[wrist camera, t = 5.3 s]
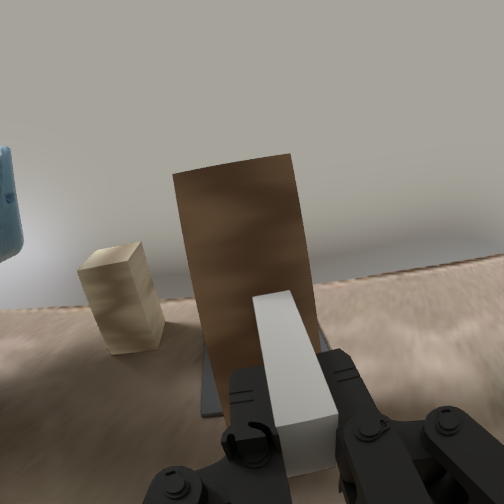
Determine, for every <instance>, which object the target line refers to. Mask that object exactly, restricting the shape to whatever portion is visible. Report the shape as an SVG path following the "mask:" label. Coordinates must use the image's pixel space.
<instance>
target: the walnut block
mask: <svg viewBox="0 0 504 504" xmlns="http://www.w3.org/2000/svg"><path fill="white" fill-rule="evenodd" d="M173 181H174V187H175V193H176V199H177V205H178V210H179V216H180V222H181V228H182V233H183V238H184V244H185V249H186V255H187V260H188V265H189V270H190V275H191V280H192V284H193V289H194V294H195V299H196V303H197V308H198V313H199V317H200V322H201V326H202V330H203V335H204V339H205V343H206V347H207V352H208V356H209V360H210V364H211V368H212V372H213V376H214V380H215V384H216V388H217V392H218V395H219V399H220V403H221V407H222V410H223V414H224V418H225V421H226V425H227V428H228V427H229V426H230V425H231V424H230V402H229V396H230V395H229V380H230V378H231V376H232V374H233V372H234V370H237V369H244V368H250V367H256V366H261V365H264V360H263V354H262V349H261V343H260V338H259V332H258V326H257V321H256V315H255V309H254V303H253V298H252V297H255V296H260V295H266V294H271V293H277V292H282V291H287V290H290V292H291V295H292V297H293V300H294V302H295V305H296V307H297V309H298V312H299V314H300V317H301V319H302V322H303V324H304V327H305V329H306V332H307V334H308V337H309V339H310V342H311V344H312V347H313V350H314V352H315V354H317V353H321V346H320V337H319V329H318V321H317V314H316V306H315V299H314V292H313V285H312V278H311V271H310V264H309V258H308V252H307V245H306V239H305V233H304V226H303V221H302V215H301V209H300V203H299V197H298V192H297V186H296V181H295V175H294V170H293V165H292V160H291V154H283V155H276V156H269V157H263V158H256V159H250V160H244V161H239V162H232V163H227V164H221V165H216V166H210V167H206V168H200V169H195V170H191V171H185V172H180V173H176V174H173Z"/></svg>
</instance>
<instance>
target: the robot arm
mask: <svg viewBox="0 0 504 504" xmlns="http://www.w3.org/2000/svg"><path fill="white" fill-rule="evenodd" d="M23 243H24V237H23V231H22V225H21V220H20V214H19V209H18V202H17V195H16V189H15V182H14V174H13V166H12V157H11V151H10V148H9V147H7V146H4V147H2V146H0V263H1V262H3V261H5V260H7V259H9V258H11V257H13V256H15V255H16V254H18V253H19V252H20V251H21V249H22V247H23ZM252 298H253V303H254V309H255V315H256V321H257V326H258V332H259V338H260V343H261V349H262V354H263V360H264V365H261V366H256V367H250V368H244V369H237V370H234V372H233V374H232V376H231V378H230V380H229V395H230V396H229V402H230V424H231V425H230V426H229V427H228V428H227V429H226V430H225V432H224V433H223V435H222V439H221V444H222V447H223V449H224V451H225V454H226V455H225V456H224V458H222V459H221V460H220V461H219V462H217V463H215V464H213V465H211V466H208V467H205V468H202V469H200V470H197V471H193V470H192V469H190V468H186V467H183V466H173V467H170V468H167V469H164V470H162V471H161V472H160V473H158V474H157V475H156V476H155V478H154V479H153V480H152V482H151V484H150V487H149V489H148V491H147V494H146V496H145V499H144V501H143V503H142V504H292V500H291V495H290V490H289V484H288V479H287V478H289V477H294V476H299V475H304V474H309V473H313V472H318V471H322V470H326V469H330V468H334V467H336V461H337V465H338V468H339V471H340V478H339V493H340V492H343V494H344V497H345V501H346V504H504V445H503V444H501V443H500V442H499V441H498V440H497V439H496V438H494V437H493V436H492V435H491V434H490V433H489V432H488V431H486V430H485V429H484V428H483V427H482V426H481V425H479V424H478V423H477V422H476V421H475V420H474V419H472V418H471V417H470V416H469V415H468V414H467V413H465V412H464V411H462V410H461V409H459V408H457V407H452V406H443V407H439V408H436V409H434V410H432V411H431V412H430V413H429V414H428V415H427V417H426V420H420V421H408V422H401V421H394V420H391V419H389V418H388V417H387V416H385V415H383V414H381V413H380V412H379V410H378V409H377V407H376V405H375V403H374V401H373V399H372V397H371V395H370V393H369V391H368V389H367V388H366V386H365V384H364V382H363V380H362V378H361V377H360V374H359V372H358V370H357V369H356V366H355V364H354V363H353V361H352V359H351V357H350V356H349V355H348V354H347V353H345V352H344V351H342V350H341V349H340V348H339V349H334V350H330V351H326V352H321V353H317V354H315V352H314V350H313V347H312V344H311V342H310V339H309V337H308V334H307V332H306V329H305V327H304V324H303V322H302V319H301V317H300V314H299V312H298V309H297V307H296V305H295V302H294V300H293V297H292V295H291V292H290V290H287V291H282V292H277V293H271V294H266V295H260V296H255V297H252Z"/></svg>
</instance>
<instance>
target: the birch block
mask: <svg viewBox="0 0 504 504" xmlns="http://www.w3.org/2000/svg"><path fill="white" fill-rule="evenodd" d="M77 273H78V276H79V279H80V281H81V284H82V287H83V290H84V292H85V295H86V297H87V300H88V303H89V305H90V308H91V310H92V313H93V315H94V318H95V320H96V322H97V325H98V327H99V329H100V332H101V334H102V336H103V339H104V341H105V343H106V345H107V348H108V350H109V352H110V354H111V355H115V354H125V353H135V352H144V351H153V350H158V348H159V344H160V341H161V337H162V333H163V329H164V325H165V318H164V315H163V312H162V309H161V306H160V303H159V300H158V297H157V294H156V291H155V287H154V284H153V281H152V277H151V274H150V270H149V267H148V264H147V260H146V257H145V253H144V250H143V246H142V242H141V241H139V242H135V243H130V244H125V245H120V246H115V247H110V248H106V249H101V250H97V251H95V252H94V253H93V254H92V255H91V256H90V257H89V258H88V259H87V260H86V262H85V263H83V264H82V265H81V267H80V268H79V269H78V270H77Z"/></svg>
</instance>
